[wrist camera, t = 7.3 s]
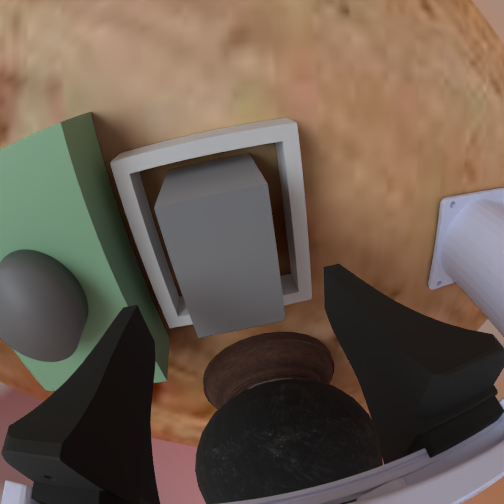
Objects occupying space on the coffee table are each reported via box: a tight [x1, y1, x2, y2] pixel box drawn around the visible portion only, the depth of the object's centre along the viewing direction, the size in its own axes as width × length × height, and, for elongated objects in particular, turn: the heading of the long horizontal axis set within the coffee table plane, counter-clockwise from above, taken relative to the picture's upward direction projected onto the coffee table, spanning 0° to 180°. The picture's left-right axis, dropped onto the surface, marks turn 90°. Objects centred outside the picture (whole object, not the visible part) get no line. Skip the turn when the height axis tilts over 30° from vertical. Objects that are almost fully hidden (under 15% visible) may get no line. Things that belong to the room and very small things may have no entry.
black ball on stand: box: [195, 332, 383, 504], centre depth 20 cm, size 13×13×15 cm
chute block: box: [154, 153, 286, 338], centre depth 16 cm, size 4×7×6 cm, turn 9°
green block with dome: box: [0, 112, 312, 391], centre depth 16 cm, size 20×16×6 cm
